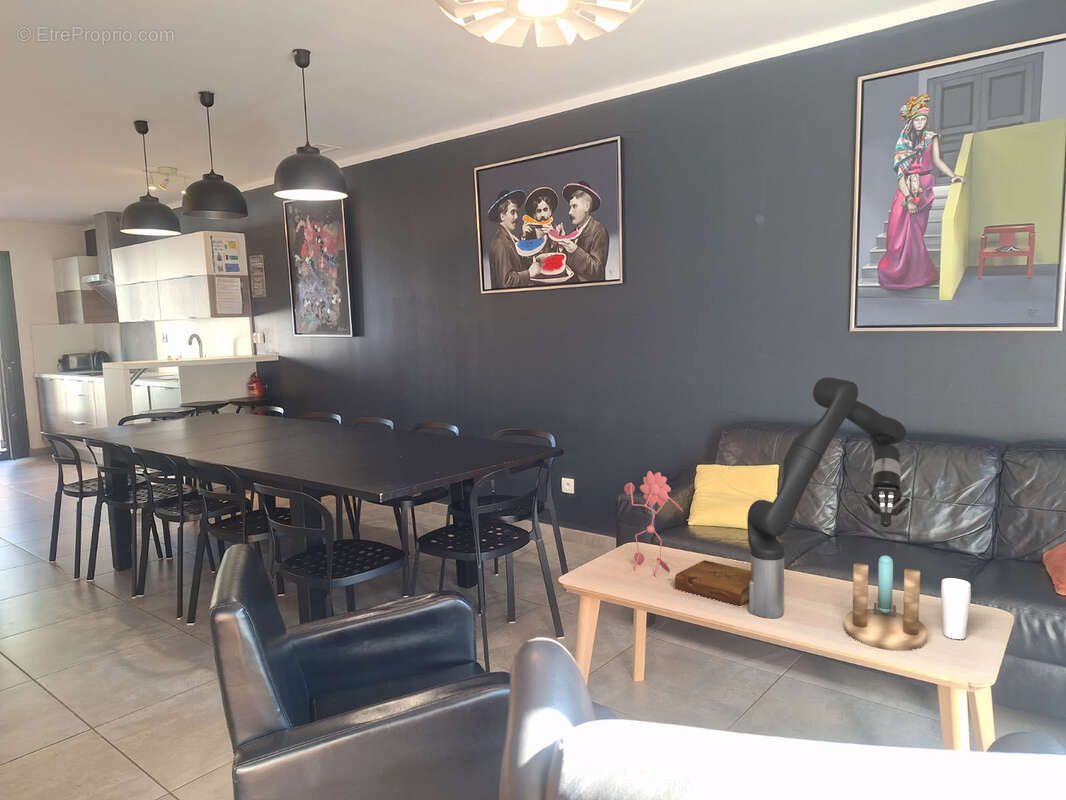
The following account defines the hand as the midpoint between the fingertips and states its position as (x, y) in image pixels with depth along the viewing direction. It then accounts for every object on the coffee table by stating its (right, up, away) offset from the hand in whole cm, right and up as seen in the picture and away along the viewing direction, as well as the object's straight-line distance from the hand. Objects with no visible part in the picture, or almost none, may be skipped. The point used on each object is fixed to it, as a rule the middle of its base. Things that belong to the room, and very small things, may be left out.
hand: (885, 525), depth 203 cm
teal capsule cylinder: (-5, -23, -9) cm, 25 cm away
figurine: (-60, -23, +42) cm, 77 cm away
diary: (-43, -25, +21) cm, 54 cm away
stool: (-8, -27, -15) cm, 32 cm away
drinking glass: (+10, -27, -17) cm, 33 cm away
